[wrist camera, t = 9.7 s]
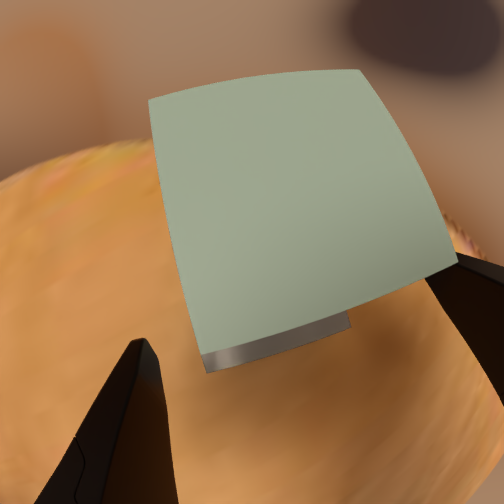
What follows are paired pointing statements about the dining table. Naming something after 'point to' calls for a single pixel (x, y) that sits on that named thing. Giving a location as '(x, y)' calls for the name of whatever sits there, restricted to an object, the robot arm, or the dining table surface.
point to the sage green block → (290, 202)
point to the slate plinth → (275, 342)
